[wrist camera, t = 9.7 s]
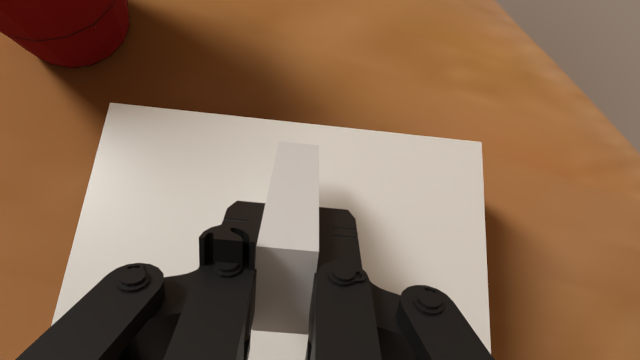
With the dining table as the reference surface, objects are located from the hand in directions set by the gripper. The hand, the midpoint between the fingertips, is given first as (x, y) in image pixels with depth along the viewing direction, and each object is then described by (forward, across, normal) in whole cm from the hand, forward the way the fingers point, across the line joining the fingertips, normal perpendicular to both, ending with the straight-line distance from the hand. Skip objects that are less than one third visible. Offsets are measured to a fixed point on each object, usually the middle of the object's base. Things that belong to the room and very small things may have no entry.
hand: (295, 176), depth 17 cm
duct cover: (0, 0, -3) cm, 3 cm away
